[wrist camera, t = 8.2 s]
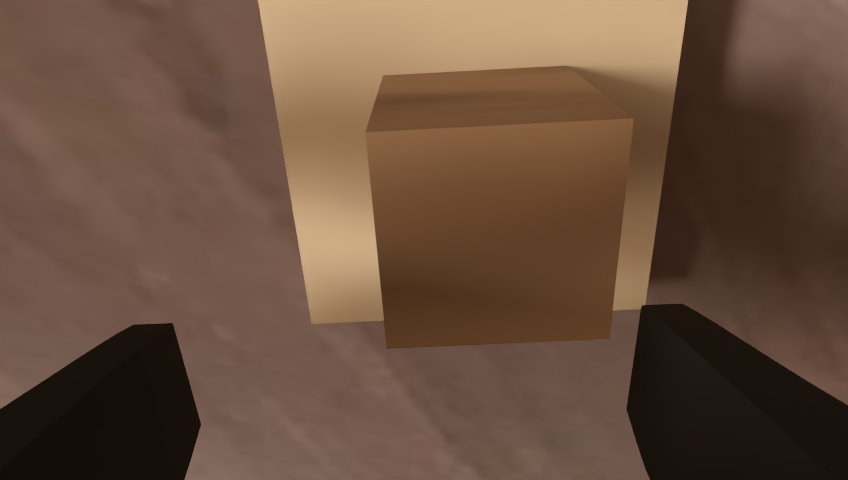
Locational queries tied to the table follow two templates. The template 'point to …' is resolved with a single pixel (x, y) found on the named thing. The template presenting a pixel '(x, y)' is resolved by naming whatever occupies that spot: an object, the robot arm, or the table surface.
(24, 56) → the table surface
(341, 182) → the birch base
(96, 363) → the robot arm
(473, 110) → the walnut block
